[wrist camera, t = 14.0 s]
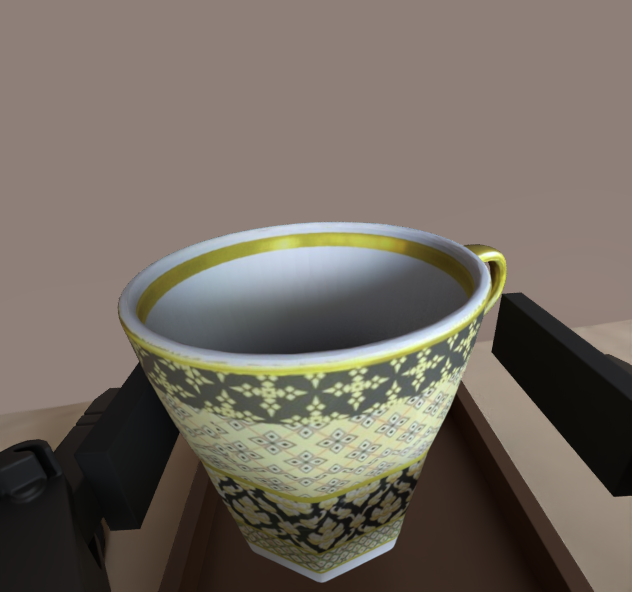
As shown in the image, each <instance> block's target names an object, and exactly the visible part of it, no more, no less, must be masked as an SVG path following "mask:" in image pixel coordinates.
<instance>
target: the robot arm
mask: <svg viewBox="0 0 632 592" xmlns="http://www.w3.org/2000/svg"><path fill="white" fill-rule="evenodd" d="M492 353H493V355H494V356H495V357H496V358H497V359H498V360H499V362H500V363H501V364H502V365H503V366H504V368H505V369H506V370H507V371H508V372H509V373H510V375H511V376H512V377H513V378H514V379H515V381H516V382H517V383H518V384H519V385H520V386H521V388H522V389H523V390H524V391H525V392H526V394H527V395H528V396H529V397H530V398H531V400H532V401H533V402H534V403H535V404H536V405H537V407H538V408H539V409H540V410H541V411H542V413H543V414H544V415H545V416H546V417H547V418H548V420H549V421H550V422H551V423H552V424H553V426H554V427H555V428H556V429H557V430H558V431H559V433H560V434H561V435H562V436H563V437H564V439H565V440H566V441H567V442H568V443H569V445H570V446H571V447H572V448H573V449H574V450H575V452H576V453H577V454H578V455H579V456H580V458H581V459H582V460H583V461H584V462H585V463H586V465H587V466H588V467H589V468H590V469H591V471H592V472H593V473H594V474H595V475H596V476H597V478H598V479H599V480H600V481H601V482H602V484H603V485H604V486H605V487H606V488H607V490H608V491H609V492H610V493H611V494H612V495H613V497H619V496H632V365H630V364H629V363H627V362H624V361H622V360H620V359H618V358H616V357H614V356H612V355H609V354H603V353H602V352H600V351H599V350H597V349H596V348H595V347H593V346H592V345H591V344H589V343H588V342H587V341H585V340H584V339H583V338H581V337H580V336H579V335H577V334H576V333H575V332H573V331H572V330H571V329H569V328H568V327H567V326H565V325H564V324H563V323H561V322H560V321H559V320H557V319H556V318H555V317H553V316H552V315H551V314H549V313H548V312H547V311H545V310H544V309H543V308H541V307H540V306H539V305H537V304H536V303H535V302H533V301H532V300H530V299H529V298H528V297H526V296H525V295H524V294H522V293H507V294H502V297H501V302H500V308H499V313H498V319H497V325H496V330H495V336H494V341H493V346H492ZM179 433H180V431H179V430H178V428H177V427H176V425H175V424H174V422H173V420H172V419H171V417H170V415H169V413H168V412H167V410H166V408H165V407H164V405H163V403H162V402H161V400H160V398H159V396H158V395H157V393H156V391H155V389H154V388H153V386H152V384H151V383H150V381H149V379H148V377H147V376H146V374H145V372H144V370H143V368H142V366H141V364H140V362H139V363H138V364H137V366H136V367H135V369H134V370H133V372H132V373H131V374H130V376H129V377H128V379H127V380H126V381H125V383H124V384H123V385H122V387H121V388H109V389H108V390H107V391H105V392H104V393H103V394H101V395H100V396H99V397H98V398H96V399H95V400H94V401H93V402H92V404H91V405H90V406H89V407H88V409H87V410H86V411H85V413H84V415H83V416H81V418H80V419H79V420H78V422H77V423H76V426H74V427H73V428H72V429H71V431H70V432H69V433H68V434H67V436H66V437H65V438H64V440H63V441H62V442H61V443H60V445H59V446H58V447H57V449H56V450H55V451H54V452H53V451H52V449H51V447H50V445H49V444H48V442H47V441H44V440H40V439H36V440H27V441H24V442H21V443H18V444H15V445H13V446H11V447H9V448H7V449H5V450H3V451H1V452H0V592H111V589H110V585H109V580H108V576H107V572H106V568H105V564H104V559H103V555H102V551H101V547H100V543H99V540H98V538H97V536H96V534H95V532H96V530H97V528H98V526H99V524H100V522H101V520H102V518H103V517H104V519H105V521H106V523H107V525H108V527H109V529H110V531H117V530H132V529H140V528H141V525H142V523H143V521H144V518H145V516H146V513H147V511H148V508H149V506H150V504H151V501H152V499H153V496H154V494H155V491H156V489H157V487H158V484H159V482H160V479H161V477H162V474H163V472H164V469H165V467H166V465H167V462H168V460H169V457H170V455H171V452H172V450H173V448H174V445H175V443H176V440H177V438H178V435H179Z"/></svg>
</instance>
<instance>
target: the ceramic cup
mask: <svg viewBox="0 0 632 592" xmlns="http://www.w3.org/2000/svg"><path fill="white" fill-rule="evenodd" d="M485 262H488V263H489V265H490V272H489V270H488V269H487V266H486V265H485ZM506 274H507V271H506V262H505V259H504V256H503V255H502V254H501V252H500V251H498V250H496V249H495V248H492V247H489V246H485V245H480V244H475V245H464V246H462V245H460V244H458V243H456V242H454V241H452V240H449V239H447V238H444V237H441V236H439V235H435V234H432V233H428V232H425V231H420V230H416V229H412V228H406V227H400V226H394V225H385V224H376V223H361V222H314V223H298V224H287V225H279V226H271V227H264V228H257V229H252V230H246V231H241V232H236V233H232V234H228V235H224V236H220V237H216V238H213V239H209V240H206V241H202V242H200V243H197V244H194V245H191V246H188V247H186V248H183V249H181V250H178V251H176V252H173V253H171V254H169V255H167V256H165V257H164V258H162V259H160V260H158V261H156V262H154V263H152V264H151V265H149V266H148V267H147V268H146V269H144V270H142V271H141V272H140V273H138V274H137V275H136V276H135V277H134V278H133V279H132V280H131V281H130V282H129V283H128V285H127V286H126V287H125V289H124V290H123V292H122V294H121V297H120V299H119V303H118V314H119V319H120V322H121V325H122V327H123V328H124V331H125V333H126V335H127V337H128V339H129V341H130V343H131V345H132V347H133V349H134V351H135V353H136V356H137V358H138V359H139V362H140V364H141V366H142V368H143V370H144V372H145V374H146V376H147V377H148V379H149V381H150V383H151V384H152V386H153V388H154V389H155V391H156V393H157V395H158V396H159V398H160V400H161V402H162V403H163V405H164V407H165V408H166V410H167V412H168V413H169V415H170V417H171V419H172V420H173V422H174V424H175V425H176V427H177V428H178V430H179V431H180V433H181V434H182V436H183V437H184V438H185V440H186V441H187V443H188V444H189V446H190V447H191V448H192V449H193V451H194V452H195V453H196V455H197V456H198V457H199V459H200V460H201V462H202V463H203V465H204V467H205V469H206V471H207V473H208V475H209V477H210V479H211V481H212V483H213V484H214V486H215V488H216V489H217V491H218V493H219V494H220V496H221V498H222V500H223V501H224V503H225V505H226V506H227V508H228V510H229V511H230V513H231V515H232V516H233V518H234V519H235V521H236V523H237V525H238V527H239V529H240V531H241V533H242V534H243V536H244V538H245V539H246V541H247V542H248V544H249V546H250V547H251V549H252V550H253V551H254V552H255V553H258V554H260V555H262V556H264V557H266V558H268V559H270V560H272V561H275V562H277V563H279V564H281V565H283V566H285V567H287V568H289V569H292V570H294V571H296V572H298V573H300V574H302V575H304V576H307V577H309V578H311V579H313V580H315V581H317V582H326V581H328V580H330V579H332V578H334V577H336V576H338V575H341V574H343V573H345V572H347V571H349V570H351V569H353V568H355V567H357V566H359V565H361V564H363V563H365V562H367V561H369V560H371V559H373V558H375V557H377V556H379V555H381V554H383V553H385V552H387V551H389V550H390V549H392V548H393V547H394V545H395V542H396V539H397V537H398V534H399V533H400V530H401V527H402V523H403V520H404V517H405V513H406V511H407V509H408V506H409V503H410V501H411V498H412V495H413V492H414V490H415V487H416V484H417V482H418V479H419V476H420V473H421V470H422V468H423V465H424V462H425V459H426V456H427V453H428V450H429V448H430V446H431V444H432V442H433V440H434V438H435V436H436V434H437V432H438V431H439V429H440V427H441V425H442V423H443V421H444V419H445V417H446V414H447V412H448V410H449V408H450V406H451V404H452V401H453V399H454V396H455V394H456V391H457V389H458V386H459V383H460V381H461V378H462V376H463V373H464V371H465V368H466V365H467V363H468V360H469V358H470V355H471V353H472V350H473V347H474V344H475V341H476V338H477V334H478V331H479V328H480V325H481V322H482V319H483V317H484V316H485V314H486V313H487V312H488V311H489V310H490V309H491V308H492V307H493V305H494V304H495V303H496V301H497V300H498V298H499V296H500V294H501V292H502V290H503V288H504V285H505V281H506V276H507V275H506Z"/></svg>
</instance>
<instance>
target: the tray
mask: <svg viewBox="0 0 632 592" xmlns="http://www.w3.org/2000/svg"><path fill="white" fill-rule="evenodd" d="M158 592H594V591H593V589H592V587H591V586H590V584H589V583H588V581H587V579H586V578H585V576H584V575H583V573H582V571H581V570H580V568H579V567H578V565H577V563H576V562H575V560H574V559H573V557H572V556H571V554H570V552H569V551H568V549H567V548H566V546H565V544H564V543H563V541H562V540H561V538H560V536H559V535H558V533H557V532H556V530H555V529H554V527H553V525H552V524H551V522H550V521H549V519H548V517H547V516H546V514H545V513H544V511H543V509H542V508H541V506H540V505H539V503H538V501H537V500H536V498H535V497H534V495H533V494H532V492H531V490H530V489H529V487H528V486H527V484H526V482H525V481H524V479H523V478H522V476H521V474H520V473H519V471H518V470H517V468H516V467H515V465H514V463H513V462H512V460H511V459H510V457H509V455H508V454H507V452H506V451H505V449H504V447H503V446H502V444H501V443H500V441H499V439H498V438H497V436H496V435H495V433H494V432H493V430H492V428H491V427H490V425H489V424H488V422H487V420H486V419H485V417H484V416H483V414H482V412H481V411H480V409H479V408H478V406H477V405H476V403H475V401H474V400H473V398H472V397H471V395H470V393H469V392H468V390H467V389H466V387H465V385H464V384H463V382H462V381H460V383H459V386H458V389H457V391H456V394H455V396H454V399H453V401H452V404H451V406H450V408H449V410H448V412H447V414H446V417H445V419H444V421H443V423H442V425H441V427H440V429H439V431H438V432H437V434H436V436H435V438H434V440H433V442H432V444H431V446H430V448H429V450H428V453H427V456H426V459H425V462H424V465H423V468H422V470H421V473H420V476H419V479H418V482H417V484H416V487H415V490H414V492H413V495H412V498H411V501H410V503H409V506H408V509H407V511H406V513H405V517H404V520H403V523H402V527H401V530H400V533H399V534H398V537H397V539H396V542H395V545H394V547H393V548H392V549H390V550H389V551H387V552H385V553H383V554H381V555H379V556H377V557H375V558H373V559H371V560H369V561H367V562H365V563H363V564H361V565H359V566H357V567H355V568H353V569H351V570H349V571H347V572H345V573H343V574H341V575H338V576H336V577H334V578H332V579H330V580H328V581H326V582H317V581H315V580H313V579H311V578H309V577H307V576H304V575H302V574H300V573H298V572H296V571H294V570H292V569H289V568H287V567H285V566H283V565H281V564H279V563H277V562H275V561H272V560H270V559H268V558H266V557H264V556H262V555H260V554H258V553H255V552H254V551H253V550H252V549H251V547H250V546H249V544H248V542H247V541H246V539H245V538H244V536H243V534H242V533H241V531H240V529H239V527H238V525H237V523H236V521H235V519H234V518H233V516H232V515H231V513H230V511H229V510H228V508H227V506H226V505H225V503H224V501H223V500H222V498H221V496H220V494H219V493H218V491H217V489H216V488H215V486H214V484H213V483H212V481H211V479H210V477H209V475H208V473H207V471H206V469H205V467H204V465H203V463H202V462H201V460H200V461H199V464H198V468H197V471H196V474H195V477H194V480H193V483H192V487H191V490H190V493H189V496H188V499H187V502H186V506H185V509H184V512H183V515H182V518H181V521H180V525H179V528H178V531H177V534H176V537H175V540H174V544H173V547H172V550H171V553H170V556H169V559H168V563H167V566H166V569H165V572H164V575H163V579H162V582H161V585H160V588H159V591H158Z"/></svg>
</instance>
